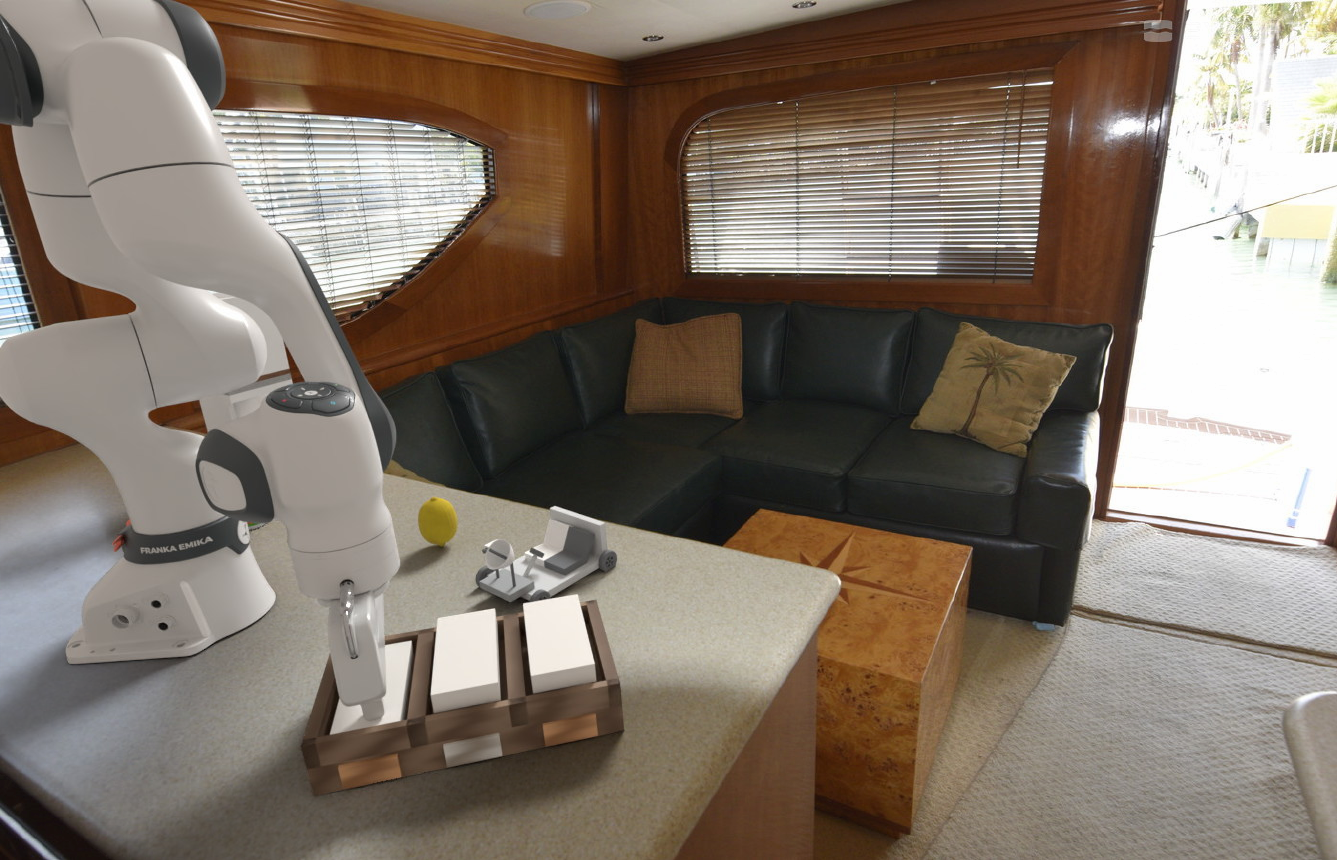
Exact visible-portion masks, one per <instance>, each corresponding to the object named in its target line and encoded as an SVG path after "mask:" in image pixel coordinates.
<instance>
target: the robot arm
mask: <svg viewBox="0 0 1337 860" xmlns="http://www.w3.org/2000/svg"><path fill="white" fill-rule="evenodd" d="M225 66H226V65H225V61H224V57H223V53H222V49H221V46H220V44H219V41H218V39H217V36H216V35H215V32H214V31H213V29H212V28H211V26H210V24H209V23H208V21H206V20H205V18H203V16H202V15H201V14H200V12H198V11H197V10H196V9H195V8H193V7H191V6H189V5H186V4H183V3H182V2H179V1H176V0H0V125H1V124H2V125H8V126H11V131H12V138H13V143H14V144H13V145H14V148H15V155H16V159H17V163H18V168H19V171H20V174H21V178H22V182H23V185H24V189H25V193H26V196H27V198H28V201H29V204H30V208H31V212H32V214H33V215H32V216H33V217H34V220H35V224H36V228H37V230H38V233H39V236H40V240H41V243H42V246H43V249H44V252H45V255H46V258H47V260H48V261H49V263H50V264H51V265H52V266H53V268H54V269H55V270H56V271H57V272H59V273H60V274H62V275H63V276H65V277H66V278H69V279H70V280H72V281H74V282H77V283H79V284H82V285H85V286H87V287H88V286H89V287H92V288H96V289H100V290H104V291H108V292H111V293H114V294H119V295H120V296H123V297H125V298H127V299H129V300H130V301H132V302H133V303H134V304H135V306H136V307H135V310H133V311H132V312H129V313H128V314H127V313H126V314H120V315H112V316H102V317H97V318H88V319H80V320H74V321H73V320H72V321H64V322H57V323H52V324H50V325H46V326H42V327H39V328H34V329H32V330H29V331H25V332H22V333H18V334H16V335H13V336H9V337H8V338H6V339H5V341H3V343H2V344H1V346H0V398H1V400H2V401H3V402H4V403H5V405H6V406H8V407H9V409H10V410H12V411H13V412H14V413H15V414H17V415H18V416H20V417H22V419H25V420H27V421H29V422H31V423H34V424H36V425H39V426H43V427H45V428H50V429H52V430H54V431H57V432H60V433H62V434H64V435H66V436H69V437H70V438H72V439H73V440H76V442H78V443H80V444H82V445H83V446H85V447H86V448H87V449H88V450H90V451H91V452H92V453H93V454H95V456H97V458H99V460H100V461H101V462H102V463H103V465H104V466H105V467H106V468H107V470H108V471H109V473H110V474H111V476H112V479H113V480H114V483H115V485H116V487H117V490H118V492H119V495H120V497H121V499H122V502H123V503H124V507H125V510H126V512H127V515H128V519H127V521H126V526H125V527H124V528H123V529H121V530H120V531H119V533H117V538H115V540H114V541H112V544H111V545H112V546H114V547H113V552H114V553H117V552H118V551H119V550H120V549H122V552H123V556H122V557H121V558H120V559H119V560H118V561H117V562H116V563H115V564H113V566H112V567H110V569H108V571H106V572H105V574H104V575H102V577H101V578H100V579H99V580H97V582H96V583H95V584H94V585H93V586H92V588H90V590H89V591H88V593H87V595H86V596H85V598H84V600H83V603H82V607H81V625H80V626H79V627H78V628H77V630H76V631H74V633H73V635H72V636H71V637H70V638H69V641H68V642H67V645H66V647H65V657H66V658H65V659H66V661H67V662H68V664H70V665H78V664H95V663H107V662H108V663H109V662H121V661H122V662H123V661H124V662H125V661H136V660H151V659H164V658H179V657H188V656H193V655H195V654H198V653H200V652H201V651H203V650H204V649H207V648H209V646H211V645H212V644H214V643H216V642H217V641H219V640H222V639H224V638H225V637H227V636H230V635H232V634H235V633H237V632H239V631H241V630H243V629H245V628H247V627H248V626H250V625H252V624H254V623H255V622H257V621H258V620H259V619H260V618H262V617H263V616H264V615H265V614H267V613H268V612H269V610H270V609H272V607H273V606H274V604H275V601H276V598H277V597H276V593H275V591H274V589H273V588H272V586H270V584H269V583H268V581H267V579H266V577H265V575H264V574H263V572H262V571H261V568H260V566H259V564H258V562H257V560H256V558H255V554H254V552H253V550H252V548H251V545H250V543H251V538H250V530H249V529H248V524H247V522H249V523H266V524H268V523H272V522H279V523H282V525H283V526H285V529H286V534H287V537H286V539H287V540H286V542H287V547H288V550H289V556H290V559H291V563H292V567H293V571H294V575H295V579H296V584H297V588H298V591H300V593H301V594H302V595H304V596H305V597H308V598H311V599H316V600H317V602H318V604H320V605H321V606H322V607H326V608H328V614H327V637H328V647H329V654H330V653H331V659H332V664H333V669H334V674H335V679H336V684H337V688H338V693H339V697H340V700H341V702H342V703H343V705H344V706H346V707H351V706H356V705H360V706H361V708H362V712H363V716H364V719H365V720H368V721H369V720H373V719H377V718H380V717H382V716H383V715H384V713H385V709H384V700H383V697H384V696H385V694H386V660H385V636H386V635H385V612H384V611H385V609H384V593H385V591H386V590H387V589H388V587H389V586H390V583H391V582H390V580H391V579H392V578H393V577H395V575H396V574H397V573H398V571H399V569H400V567H401V559H400V554H399V548H398V544H397V540H396V534H395V528H394V523H393V519H392V514H391V511H390V510H389V508H388V507H387V505H386V503H385V500H384V497H383V496H384V495H383V485H384V473H385V471H386V470H387V468H388V467H389V465H390V464H391V463H390V462H391V460H392V459H393V455H394V452H395V448H396V445H397V429H396V424H395V421H394V419H393V417H392V414H391V413H390V411H389V409H388V407H387V406H386V405H385V403H384V402H383V400H382V399H381V397H380V396H379V395H378V393H377V392H376V391H375V390H374V388H373V387H372V385H371V384H370V382H369V381H368V378H367V377H366V375H365V373H364V372H363V370H362V367H361V366H360V363H359V362H358V360H357V358H356V355H355V353H354V352H353V350H352V348H351V345H350V344H349V341H348V340H347V337H346V335H345V333H344V331H343V329H342V327H341V325H340V322H339V321H338V319H337V317H336V316H335V313H334V311H333V309H332V307H331V305H330V303H329V301H328V299H327V297H326V295H325V293H324V291H323V289H322V287H321V284H320V283H319V281H318V279H317V277H316V276H315V273H314V272H313V269H312V268H311V266H310V264H309V263H308V261H307V259H306V258H305V256H304V255H303V253H302V252H301V250H300V248H299V247H298V246H297V245H296V243H295V242H294V241H293V240H292V239H291V238H290V237H288V236H286V235H285V234H283V233H280V232H279V231H277V230H275V229H274V228H273V227H272V226H271V225H270V224H269V222H268V221H267V220H265V218H264V217H263V216H262V215H261V213H260V212H259V211H258V210H257V208H256V207H255V205H254V204H253V202H252V201H251V199H250V197H248V195H247V193H246V191H245V189H244V188H243V185H242V183H241V180H240V178H239V176H238V173H237V170H236V166H235V165H234V162H233V159H232V157H231V153H230V150H229V148H228V146H227V143H226V141H225V139H224V137H223V136H224V135H223V134H222V131H221V129H220V127H219V125H218V123H217V121H216V119H215V116H214V114H213V111H214V110H216V108H217V106H218V105H219V104H220V102H221V101H222V100H223V98H224V96H225V93H226V87H227V86H226V85H227V83H226V82H227V79H226V78H227V77H226V75H227V74H226V67H225ZM211 292H213V293H223V294H227V295H230V296H234V297H237V298H240V299H242V300H245V301H247V302H249V303H252V304H253V305H255V306H257V307H258V308H260V309H261V310H262V311H264V312H265V313H266V314H267V315H268V316H269V317H270V318H271V320H272V321H273V322H274V324H275V325H276V327H277V329H278V331H279V332H280V334H281V336H282V338H283V342H284V345H285V346H286V348H287V349H288V351H289V353H290V355H291V357H292V359H293V360H294V363H295V365H296V366H297V368H298V371H299V373H300V374H301V375H302V378H303V379H304V380H303V381H299V382H296V383H295V382H293V384H290V385H286V386H283V387H280V388H278V389H276V390H274V391H272V392H271V393H269V394H268V395H267V396H266V397H265V398H264V399H263V401H262V402H261V405H260V407H259V408H258V409H257V410H255V411H253V412H252V413H250V414H248V415H245V416H243V417H240V418H237V419H235V420H232V421H229V422H227V423H224V424H222V425H220V426H218V427H217V428H215V429H212V430H210V431H209V432H208V431H207V433H206V434H205V435H201V434H198V433H194V432H191V431H190V432H189V431H185V430H178V429H172V428H168V427H163V426H161V425H158V424H157V423H155V422H153V421H152V420H151V419H150V417H149V413H150V412H151V411H153V410H156V409H158V408H163V407H167V406H174V405H178V404H184V403H189V402H195V401H199V400H200V399H205V398H210V397H216V396H220V395H223V394H225V393H228V392H231V391H234V390H236V389H239V388H241V387H244V386H246V385H249V384H251V383H254V382H256V381H257V380H258V378H259V377H260V375H261V374H262V372H263V370H264V367H265V364H266V360H267V346H266V341H265V338H264V335H263V333H262V331H261V329H260V328H259V326H258V325H257V324H256V322H255V321H254V320H253V319H252V318H251V317H250V316H249V315H248V314H246V313H245V312H244V311H242V310H240V309H239V308H237V307H235V306H233V305H230V304H228V303H226V302H224V301H222V300H220V299H219V298H217V297H216V296H214V295H213V294H212V293H211Z"/></svg>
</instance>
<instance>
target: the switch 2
mask: <svg viewBox="0 0 1337 860" xmlns="http://www.w3.org/2000/svg"><path fill="white" fill-rule="evenodd" d="M496 617H497V612H496V608H490V609H484V610H476V611H472V612H471V611H470V612H466V613H459V614H455V615H448V616H442V617H438V618H437V622H436V627H437V631H436V642H435V653H434V663H433V674H432V685H431V700H432V705H433V711H434V713H438V712H443V711H448V710H453V709H458V708H463V707H469V706H474V705H479V704H484V703H489V702H494V701H499V700H501V695H500V673H499V650H498V628H497V619H496Z"/></svg>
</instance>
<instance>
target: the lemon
mask: <svg viewBox="0 0 1337 860" xmlns="http://www.w3.org/2000/svg"><path fill="white" fill-rule="evenodd" d="M458 522H459V521H458V516H457V513H456V510H455V508H454V506H453V505H452V503H451V502H450V501H448V500H446V499H444V498H442V497H437V496H431V498H430V499H428V500H426V501H425V502H424V503H422V505H421V506H420V509H419V511H418V515H417V525H418V528H419V530H418V531H419V532H420V535H421V536H422V538H423V539H424V540H425V541H426V542H428V543H430V544H433V545H437V546H439V547H444V546H445V545H446V543H448V542H450V541H451V540H452V539H453V538H454V536H456V534H457V532H458Z"/></svg>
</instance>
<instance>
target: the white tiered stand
mask: <svg viewBox="0 0 1337 860" xmlns="http://www.w3.org/2000/svg"><path fill="white" fill-rule="evenodd" d="M211 294H213V295H214V296H216V297H217V298H219V299H220V300H222V301H224V302H226V303H228V304H230V305H233V306H235V307H237V308H239V309H240V310H242V311H244V312H245V313H246V314H248V315H249V316H250V317H251V318H252V319H253V320H254V321H255V322H256V324H257V325H258V326H259V328H260V329H261V331H262V333H263V335H264V338H265V341H266V346H267V360H266V364H265V367H264V370H263V372H262V374H261V375H260V377H259V378H258V380H257V381H256V382H254V383H251V384H249V385H246V386H244V387H241V388H239V389H236V390H234V391H231V392H228V393H225V394H223V395H220V396H216V397H210V398H205V399H200V400H198V401H199V405H200V408H201V413H202V414H203V415H202V416H203V420H204V422H205V427H206V431H207V433H208V432H209V431H210V430H212V429H215V428H217V427H218V426H220V425H222V424H224V423H227V422H229V421H232V420H235V419H237V418H240V417H243V416H245V415H248V414H250V413H252V412H253V411H255V410H257V409H258V408H259V407H260V405H261V402H262V401H263V399H264V398H265V397H266V396H267V395H268V394H269V393H271V392H272V391H274V390H276V389H278V388H280V387H283V386H286V385H290V384H294V382H293V379H292V373H291V370H290V369H291V368H290V364H289V360H288V356H287V351H286V347H285V346H286V345H285V342H284V340H283V338H282V336H281V334H280V332H279V331H278V329H277V327H276V325H275V324H274V322H273V321H272V320H271V318H270V317H269V316H268V315H267V314H266V313H265V312H264V311H262V310H261V309H260V308H258V307H257V306H255V305H253V304H252V303H249V302H247V301H245V300H242V299H240V298H237V297H234V296H230V295H227V294H223V293H218V292H212V293H211Z"/></svg>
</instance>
